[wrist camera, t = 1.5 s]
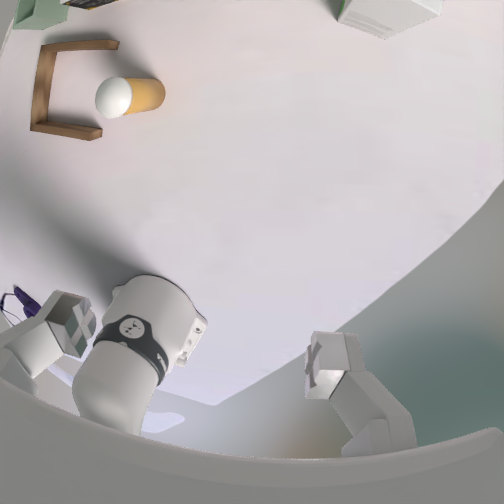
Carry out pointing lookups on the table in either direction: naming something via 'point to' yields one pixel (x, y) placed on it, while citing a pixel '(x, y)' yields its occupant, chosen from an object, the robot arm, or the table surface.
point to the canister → (128, 96)
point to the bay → (44, 86)
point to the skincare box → (387, 15)
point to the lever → (27, 303)
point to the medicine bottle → (86, 3)
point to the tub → (39, 14)
